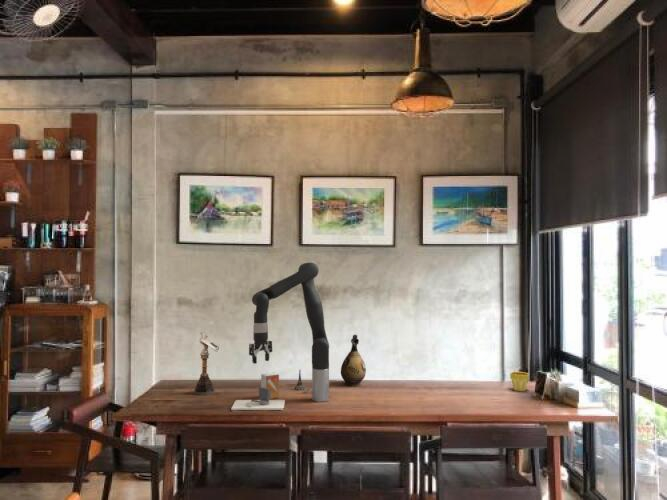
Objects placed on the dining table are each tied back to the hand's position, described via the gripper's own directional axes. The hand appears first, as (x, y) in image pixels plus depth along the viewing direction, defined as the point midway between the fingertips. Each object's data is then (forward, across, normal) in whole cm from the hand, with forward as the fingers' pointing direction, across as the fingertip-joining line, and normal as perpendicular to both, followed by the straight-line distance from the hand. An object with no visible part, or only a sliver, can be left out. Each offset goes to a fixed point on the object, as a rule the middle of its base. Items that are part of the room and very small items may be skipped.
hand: (260, 362), depth 292 cm
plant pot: (+25, -123, +88) cm, 154 cm away
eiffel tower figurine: (+24, -39, -9) cm, 46 cm away
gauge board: (+23, +2, +1) cm, 23 cm away
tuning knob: (+21, +1, 0) cm, 21 cm away
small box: (+23, -15, -9) cm, 29 cm away
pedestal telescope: (+23, 0, -44) cm, 49 cm away
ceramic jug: (+24, -70, +5) cm, 75 cm away
